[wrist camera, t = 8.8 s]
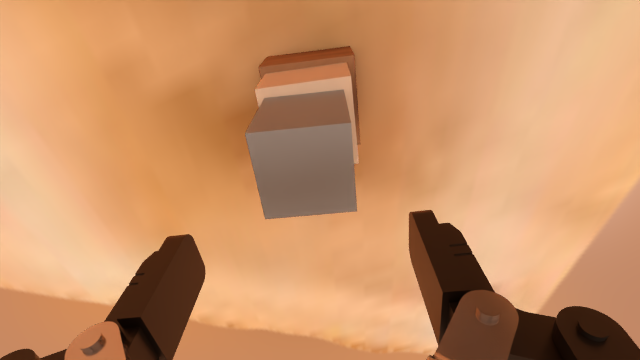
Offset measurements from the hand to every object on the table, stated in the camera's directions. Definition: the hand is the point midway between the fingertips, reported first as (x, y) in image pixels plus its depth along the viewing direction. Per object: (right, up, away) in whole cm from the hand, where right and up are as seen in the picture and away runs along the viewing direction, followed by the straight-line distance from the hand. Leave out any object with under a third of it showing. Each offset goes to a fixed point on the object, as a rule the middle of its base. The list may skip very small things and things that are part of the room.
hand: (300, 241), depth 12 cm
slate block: (0, +6, +10) cm, 11 cm away
